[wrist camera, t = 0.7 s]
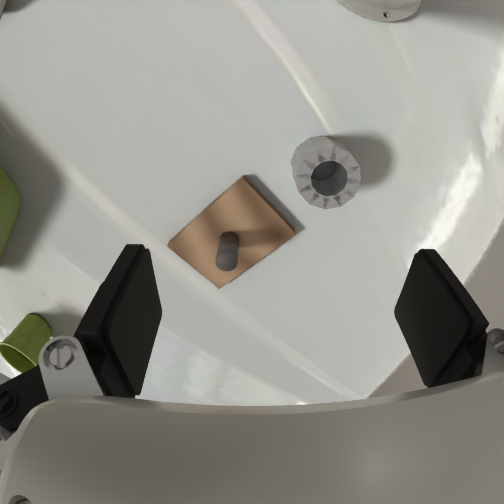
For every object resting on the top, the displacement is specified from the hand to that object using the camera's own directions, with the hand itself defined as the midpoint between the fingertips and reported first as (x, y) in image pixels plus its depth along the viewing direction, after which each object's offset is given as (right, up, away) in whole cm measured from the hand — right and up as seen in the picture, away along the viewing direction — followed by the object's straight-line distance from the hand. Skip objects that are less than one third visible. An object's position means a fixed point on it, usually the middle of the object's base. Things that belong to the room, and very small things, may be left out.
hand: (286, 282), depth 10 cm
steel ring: (+7, +12, +25) cm, 28 cm away
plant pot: (-48, -15, +43) cm, 67 cm away
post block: (-4, +3, +30) cm, 31 cm away
